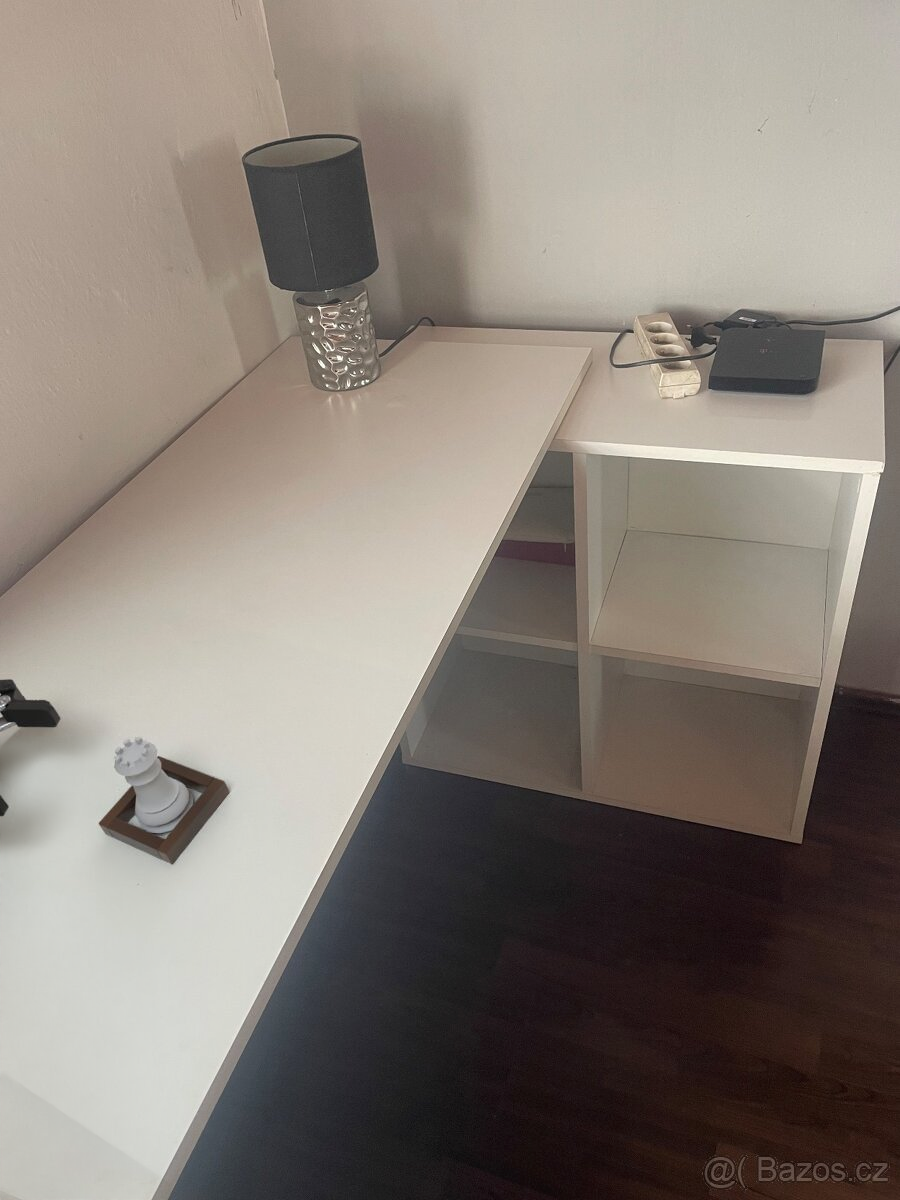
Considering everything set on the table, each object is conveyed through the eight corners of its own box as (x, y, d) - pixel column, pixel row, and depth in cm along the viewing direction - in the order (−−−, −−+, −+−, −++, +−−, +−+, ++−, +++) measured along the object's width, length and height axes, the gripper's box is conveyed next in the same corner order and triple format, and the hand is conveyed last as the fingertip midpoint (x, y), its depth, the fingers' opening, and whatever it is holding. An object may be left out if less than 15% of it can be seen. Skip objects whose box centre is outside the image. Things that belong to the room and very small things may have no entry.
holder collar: (172, 864, 66) (165, 853, 65) (105, 834, 69) (97, 823, 68) (230, 791, 71) (224, 780, 70) (164, 766, 74) (158, 755, 73)
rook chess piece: (129, 828, 69) (88, 767, 64) (162, 784, 72) (125, 721, 67) (174, 842, 67) (136, 780, 62) (206, 797, 70) (172, 733, 65)
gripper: (-244, 801, 62) (-45, 806, 59) (-124, 658, 73) (51, 657, 70) (-180, 858, 67) (7, 866, 64) (-76, 717, 77) (89, 718, 75)
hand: (29, 757), depth 67 cm, fingers open, 8 cm apart
